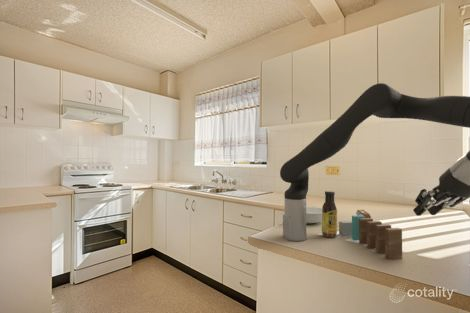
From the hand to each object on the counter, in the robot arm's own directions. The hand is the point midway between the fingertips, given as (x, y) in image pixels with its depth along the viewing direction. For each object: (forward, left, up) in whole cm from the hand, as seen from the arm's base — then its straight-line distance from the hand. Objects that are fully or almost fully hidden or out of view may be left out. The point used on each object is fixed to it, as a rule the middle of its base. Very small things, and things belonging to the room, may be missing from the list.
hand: (423, 212), depth 68 cm
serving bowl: (-4, +60, -18) cm, 63 cm away
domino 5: (+1, +11, -18) cm, 21 cm away
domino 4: (+1, +16, -18) cm, 24 cm away
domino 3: (+2, +20, -18) cm, 27 cm away
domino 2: (+2, +25, -18) cm, 31 cm away
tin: (+17, +43, -18) cm, 50 cm away
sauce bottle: (-7, +36, -18) cm, 41 cm away
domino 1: (+3, +29, -18) cm, 35 cm away
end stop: (+3, +35, -18) cm, 40 cm away
